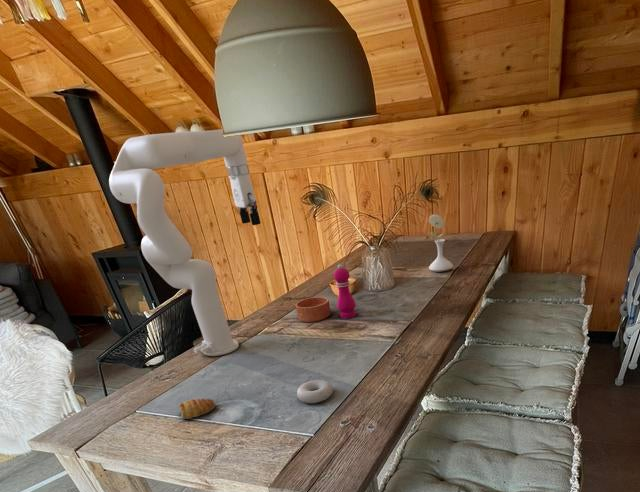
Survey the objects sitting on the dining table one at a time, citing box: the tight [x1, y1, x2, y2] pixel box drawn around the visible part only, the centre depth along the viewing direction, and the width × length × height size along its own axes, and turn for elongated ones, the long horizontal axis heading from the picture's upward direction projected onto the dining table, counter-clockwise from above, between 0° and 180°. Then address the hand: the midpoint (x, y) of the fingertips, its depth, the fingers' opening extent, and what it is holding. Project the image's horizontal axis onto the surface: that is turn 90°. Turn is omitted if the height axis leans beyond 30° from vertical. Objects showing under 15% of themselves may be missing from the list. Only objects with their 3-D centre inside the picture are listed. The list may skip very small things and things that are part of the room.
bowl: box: [294, 296, 332, 323], centre depth 186 cm, size 13×13×6 cm
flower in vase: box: [428, 214, 454, 273], centre depth 218 cm, size 13×11×25 cm
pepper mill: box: [333, 263, 357, 320], centre depth 179 cm, size 7×7×20 cm
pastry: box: [178, 398, 216, 420], centre depth 129 cm, size 9×7×4 cm
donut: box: [296, 379, 333, 404], centre depth 129 cm, size 10×4×10 cm
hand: (251, 223), depth 173 cm, fingers open, 9 cm apart
